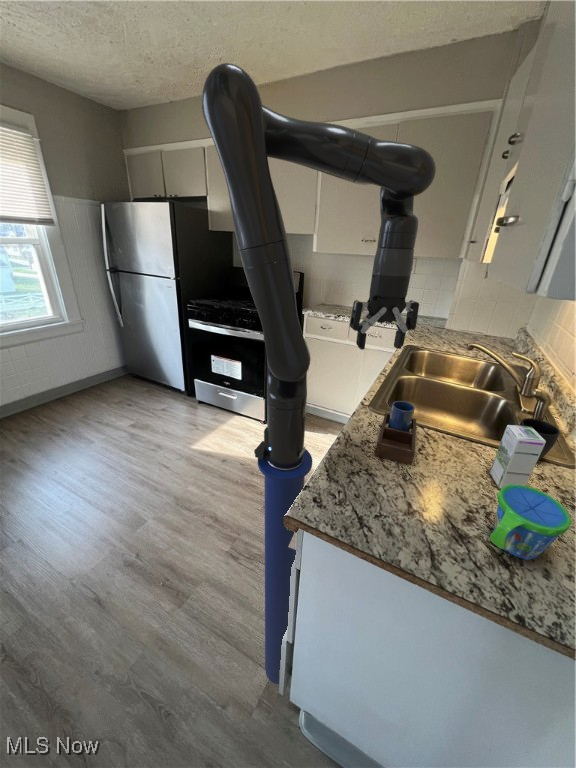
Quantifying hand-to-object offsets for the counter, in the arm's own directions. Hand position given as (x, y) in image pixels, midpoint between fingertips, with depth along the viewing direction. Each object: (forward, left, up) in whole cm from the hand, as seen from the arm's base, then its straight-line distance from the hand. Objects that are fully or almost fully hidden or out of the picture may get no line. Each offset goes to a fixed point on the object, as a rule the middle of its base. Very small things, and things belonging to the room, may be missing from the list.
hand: (379, 348), depth 70 cm
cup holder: (+8, +10, -30) cm, 33 cm away
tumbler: (+8, +14, -29) cm, 34 cm away
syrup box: (+34, +4, -30) cm, 46 cm away
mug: (+40, +18, -30) cm, 53 cm away
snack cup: (+32, -15, -30) cm, 47 cm away
